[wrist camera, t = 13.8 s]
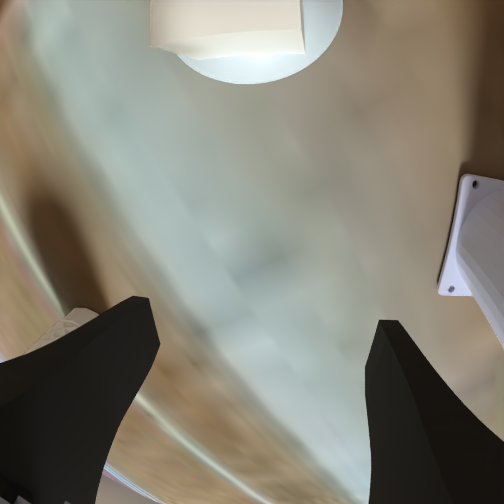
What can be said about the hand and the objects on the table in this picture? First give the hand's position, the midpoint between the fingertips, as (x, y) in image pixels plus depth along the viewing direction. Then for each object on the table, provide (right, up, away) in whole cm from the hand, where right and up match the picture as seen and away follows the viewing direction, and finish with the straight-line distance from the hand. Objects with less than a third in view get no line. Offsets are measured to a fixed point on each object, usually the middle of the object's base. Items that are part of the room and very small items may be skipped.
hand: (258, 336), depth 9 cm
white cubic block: (0, +16, +3) cm, 16 cm away
